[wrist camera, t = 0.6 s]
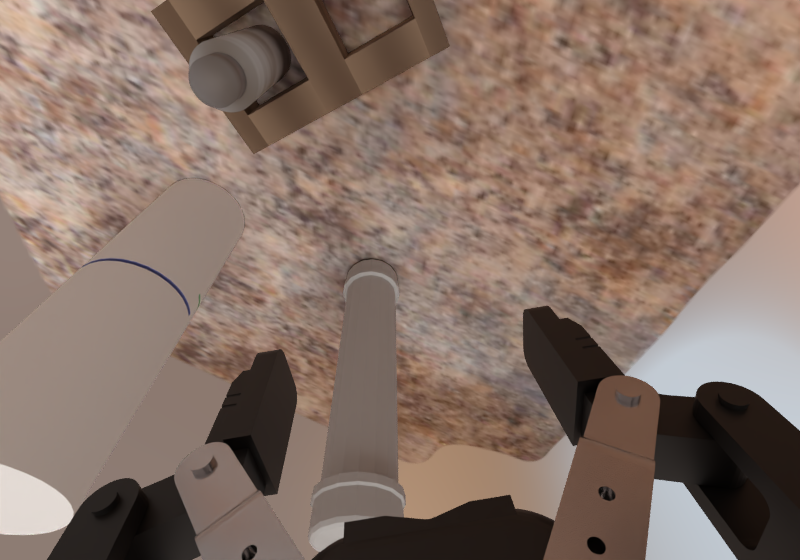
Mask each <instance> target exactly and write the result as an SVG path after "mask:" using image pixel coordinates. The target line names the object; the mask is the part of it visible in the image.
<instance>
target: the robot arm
mask: <svg viewBox="0 0 800 560" xmlns="http://www.w3.org/2000/svg"><path fill="white" fill-rule="evenodd" d="M523 349H524V356H525V359H526V362H527V365H528V367H529V369H530V371H531V372H532V374H533V376H534V378H535V379H536V381H537V383H538V385H539V387H540V388H541V390H542V392H543V394H544V395H545V397H546V399H547V401H548V403H549V404H550V406H551V408H552V410H553V411H554V413H555V415H556V417H557V419H558V420H559V422H560V424H561V426H562V427H563V429H564V431H565V433H566V434H567V436H568V438H569V440H570V442H571V443H572V445H573V446H575V445H577V448H576V452H575V454H574V458H573V461H572V465H571V468H570V471H569V475H568V478H567V482H566V485H565V488H564V491H563V495H562V498H561V502H560V506H559V508H558V512H557V515H556V518H555V521H554V520H552V519H550V518H548V517H545V516H543V515H540V514H538V513H535V512H531V511H527V510H522V509H515V507H514V504H513V501H512V499H511V496H510V495H506V496H500V497H494V498H488V499H483V500H477V501H470V502H468V503H466V504H463V505H461V506H459V507H456V508H454V509H452V510H450V511H448V512H445V513H443V514H441V515H439V516H437V517H434V518H432V519H414V518H404V517H394V516H380V517H374V518H368V519H362V520H356V521H350V522H344V537H343V538H341V539H339V540H337V541H335V542H334V543H332V544H330V545H329V546H327V547H326V548H325V549H323V550H322V551H321V552H319V553H318V554H317V555H316V556H315V557H314V558H313V559H312V560H645V556H646V547H647V538H648V528H649V518H650V510H651V500H652V490H653V482H654V479H659V480H666V481H674V482H682V483H684V485H685V486H686V487H687V489H688V490H689V492H690V493H691V494H692V496H693V497H694V499H695V500H696V502H697V503H698V504H699V506H700V507H701V509H702V510H703V511H704V513H705V514H706V516H707V517H708V519H709V520H710V521H711V523H712V524H713V525H714V527H715V528H716V530H717V531H718V533H719V534H720V535H721V537H722V538H723V540H724V541H725V542H726V544H727V545H728V547H729V548H730V549H731V551H732V552H733V554H734V555H735V556H736V558H737V559H738V560H800V431H799V430H798V429H797V428H796V427H795V426H794V425H792V424H791V423H790V422H789V421H788V420H787V419H786V418H785V417H783V416H782V415H781V414H780V413H779V412H778V411H777V410H775V409H774V408H773V407H772V406H771V405H770V404H769V403H767V402H766V401H765V400H764V399H763V398H761V397H760V396H759V395H758V394H756V393H754V392H753V391H751V390H749V389H746V388H744V387H742V386H739V385H736V384H732V383H726V382H709V383H705V384H703V385H701V386H700V387H699V388H698V390H697V392H696V396H695V397H684V396H671V395H662V394H658V393H657V391H656V390H655V389H654V388H653V387H652V386H650V385H649V384H647V383H646V382H643V381H642V380H639V379H637V378H634V377H630V376H625V375H624V374H623V373H622V372H621V370H620V369H619V368H618V367H617V366H616V365H615V364H614V362H613V361H612V360H611V359H610V358H609V357H608V356H607V354H606V353H605V352H604V351H603V350H602V349H601V348H600V346H599V347H598V344H597V343H596V342H595V341H594V340H593V338H591V337H590V335H589V334H588V333H587V332H586V330H585V329H584V328H583V327H582V326H581V325H579V324H577V323H576V322H574V321H572V320H570V319H568V318H564V319H559V318H558V317H557V315H556V314H555V313H554V312H553V310H552V309H551V308H550V307H549V306H543V307H537V308H531V309H525V310H524V312H523ZM296 404H297V392H296V386H295V383H294V380H293V377H292V374H291V371H290V369H289V366H288V363H287V360H286V357H285V354H284V352H283V351H282V350H281V349H280V350H274V351H268V352H262V353H258V354H257V355H256V357H255V359H254V362H253V364H252V367H251V369H250V370H247V371H243V372H242V373H241V374H240V375H239V376H238V377H237V378H236V379H235V380H234V381H233V382H232V384H231V387H230V389H229V391H228V393H227V398H225V400H224V402H223V404H222V408H221V409H220V411H219V413H218V416H217V418H216V420H215V422H214V425H213V427H212V429H211V431H210V434H209V436H208V438H207V440H206V443H205V445H203V446H201V447H199V448H197V449H196V450H194V451H192V452H191V453H190V454H188V455H187V456H186V457H185V458H184V459H183V460H182V462H181V463H180V464H179V466H178V467H177V469H176V472H175V474H174V475H172V476H170V477H168V478H166V479H163V480H161V481H159V482H156V483H154V484H152V485H149V486H147V487H144V488H142V489H141V487H140V486H139V484H138V483H137V482H136V481H135V480H133V479H130V478H124V479H119V480H116V481H113V482H110V483H108V484H107V485H105V486H103V487H101V488H100V489H98V490H97V491H95V492H94V493H93V494H92V495H91V496H90V497H88V498H87V499H86V500H85V501H84V502H83V504H82V505H81V506H80V507H79V509H78V510H77V512H76V513H75V515H74V517H73V518H72V520H71V521H70V523H69V525H68V526H67V528H66V530H65V531H64V533H63V534H62V536H61V538H60V539H59V541H58V543H57V544H56V546H55V547H54V549H53V551H52V553H51V554H50V556H49V557H48V559H47V560H192V559H194V558H197V557H199V556H202V559H203V560H305V559H304V557H303V556H302V554H301V553H300V551H299V550H298V548H297V547H296V545H295V543H294V542H293V540H292V539H291V537H290V536H289V534H288V533H287V531H286V530H285V528H284V527H283V525H282V523H281V522H280V520H279V519H278V517H277V516H276V514H275V513H274V511H273V509H272V508H271V506H270V505H269V504H268V502H267V500H266V499H265V497H264V496H267V495H273V494H277V493H278V488H279V483H280V479H281V474H282V469H283V465H284V460H285V455H286V451H287V446H288V441H289V437H290V432H291V427H292V422H293V418H294V414H295V409H296Z"/></svg>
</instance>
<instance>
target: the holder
mask: <svg viewBox="0 0 800 560" xmlns="http://www.w3.org/2000/svg"><path fill="white" fill-rule="evenodd" d="M407 1H408V4H409V7H410V9H411V12H412V14H413V16H411V17H410V18H408V19H406V20H405V21H403V22H401V23H399V24H398V25H396V26H394V27H393V28H391V29H389V30H387V31H386V32H384V33H382V34H381V35H379V36H377V37H375V38H374V39H372V40H370V41H369V42H367V43H365V44H363V45H362V46H360V47H358V48H357V49H355V50H353V51H351V52H350V53H348V52H347V50H346V48H345V46H344V44H343V42H342V40H341V38H340V36H339V34H338V32H337V30H336V28H335V26H334V24H333V22H332V20H331V18H330V16H329V14H328V12H327V10H326V8H325V6H324V4H323V2H322V0H166V1H165V2H163V3H162V4H161V5H159V6H158V7H156V8H155V9H154V10H152V11H151V12H152V14H153V15H154V16H155V18H156V19H157V21H158V22H159V23H160V25H161V26H162V27H163V29H164V30H165V32H166V33H167V34H168V36H169V37H170V39H171V40H172V41H173V43H174V44H175V46H176V47H177V48H178V50H179V51H180V52H181V54H182V55H183V57H184V58H185V59H186V61H187V62H188V64H189V83H190V86H191V88H192V90H193V92H194V93H195V95H196V96H197V97H198V98H199V99H200V100H201V101H202V102H203V103H205V104H206V105H208V106H211V107H214V108H216V109H218V110H221V111H223V112H224V114H225V115H226V116H227V118H228V119H229V120H230V122H231V123H232V125H233V126H234V127H235V129H236V130H237V132H238V133H239V134H240V136H241V137H242V139H243V140H244V141H245V143H246V144H247V145H248V147H249V148H250V150H251V151H252V152H253V154H255V153H256V152H258V151H260V150H262V149H264V148H266V147H267V146H269V145H271V144H273V143H275V142H276V141H278V140H280V139H282V138H284V137H286V136H287V135H289V134H291V133H293V132H295V131H297V130H298V129H300V128H302V127H304V126H306V125H307V124H309V123H311V122H313V121H315V120H317V119H318V118H320V117H322V116H324V115H326V114H327V113H329V112H331V111H333V110H335V109H337V108H338V107H340V106H342V105H344V104H346V103H347V102H349V101H351V100H353V99H355V98H357V97H358V96H360V95H362V94H364V93H366V92H368V91H369V90H371V89H373V88H375V87H377V86H378V85H380V84H382V83H384V82H386V81H388V80H389V79H391V78H393V77H395V76H397V75H398V74H400V73H402V72H404V71H406V70H408V69H409V68H411V67H413V66H415V65H417V64H419V63H420V62H422V61H424V60H426V59H428V58H429V57H431V56H433V55H435V54H437V53H439V52H440V51H442V50H444V49H446V48H448V47H449V46H450V45H449V43H448V40H447V37H446V34H445V32H444V29H443V26H442V23H441V21H440V18H439V15H438V12H437V9H436V7H435V4H434V1H433V0H407ZM262 2H265V4H266V6H267V7H268V9H269V11H270V13H271V14H272V16H273V18H274V20H275V21H276V23H277V25H278V27H279V28H280V30H281V32H282V34H283V35H284V37H285V39H286V41H287V42H288V44H289V46H290V48H291V49H292V51H293V53H294V55H295V56H296V58H297V60H298V62H299V63H300V65H301V67H302V69H303V70H304V72H305V74H306V76H307V78H305V79H304V80H302V81H300V82H298V83H297V84H295V85H293V86H292V87H290V88H288V89H286V90H285V91H283V92H281V93H280V94H278V95H276V96H274V97H273V98H271V99H269V100H268V101H266V102H264V103H262V104H261V105H258V103H257V102H256V100H257V99H258V98H259V97H260V96H262V95H263V94H264V93H265V92H266V91H267V90H269V89H270V88H271V87H272V86H273V85H274V84H275V83H277V82H278V81H279V80H280V79H281V78H282V77H284V76H285V74H286V73H287V72H288V70H289V67H290V62H291V55H290V50H289V47H288V45H287V43H286V41H285V39H284V38H283V37H282V35H281V34H280V33H279V32H277V31H276V30H275V29H273V28H271V27H269V26H265V25H256V26H252V27H249V28H246V29H242V30H239V31H236V32H232V33H229V34H226V35H222V36H219V37H216V38H214V37H213V35H214V34H215V33H217V32H218V31H220V30H221V29H223V28H224V27H226V26H227V25H229V24H230V23H232V22H233V21H235V20H236V19H238V18H239V17H241V16H242V15H244V14H246V13H247V12H249V11H250V10H252V9H253V8H255V7H256V6H258V5H259V4H261V3H262Z"/></svg>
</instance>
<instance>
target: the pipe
mask: <svg viewBox="0 0 800 560" xmlns="http://www.w3.org/2000/svg"><path fill="white" fill-rule="evenodd" d="M343 296H344V299H345V302H346V305H345V313H344V320H343V327H342V334H341V341H340V348H339V355H338V363H337V370H336V377H335V384H334V391H333V398H332V405H331V413H330V420H329V427H328V435H327V441H326V449H325V456H324V462H323V470H322V478H321V481H320V482H319V483H318V484H317V485H315V486H314V489H313V493H312V498H311V504H310V505H311V506H312V514H311V520H310V527H309V534H308V539H309V542H310V544H311V545H312V547H313V548H314V549H315V550H317V551H318V552H321V551H322V550H323V549H325V548H326V547H327V546H329V545H330V544H332V543H334V542H335V541H337V540H339V539H341V538H343V537H344V522H350V521H356V520H362V519H368V518H374V517H380V516H394V517H404V514H403V509H404V507H405V505H406V503H405V502H406V501H405V493H404V489H403V487H402V486H401V485H400V484H398V435H397V371H396V308H395V305H396V304H397V301H398V298H399V287H398V280H397V275H396V273H395V271H394V270H393V269H392V267H391V266H390V265H388V264H386V263H385V262H383V261H380V260H375V259H369V260H362V261H361V262H359V263H357V264H355V265H354V266H353V267H352V268H351V269H350V270H349V272H348V275H347V279H346V281H345V285H344V290H343Z"/></svg>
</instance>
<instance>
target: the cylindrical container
mask: <svg viewBox="0 0 800 560" xmlns="http://www.w3.org/2000/svg"><path fill="white" fill-rule="evenodd" d="M244 224H245V221H244V215H243V212H242V209H241V207H240V206H239V204H238V202H237V201H236V200H235V199H234V197H233V196H232V195H231V194H230V193H229V192H227V191H226V190H225V189H223V188H222V187H220V186H219V185H217V184H215V183H212V182H210V181H207V180H203V179H196V178H189V179H183V180H179V181H177V182H175V183H174V184H172V185H171V186H170V187H169V188H168V189H167V190H165V191H164V192H163V193H162V194H161V195H160V196H159V197H158V198H157V199H156V200H154V201H153V202H152V203H151V204H150V205H149V206H148V207H147V208H146V209H145V210H143V211H142V212H141V213H140V214H139V215H138V216H137V217H136V218H135V219H134V220H132V221H131V222H130V223H129V224H128V225H127V226H126V227H125V228H124V229H123V230H122V231H120V232H119V233H118V234H117V235H116V236H115V237H114V238H113V239H112V240H111V241H110V242H109V243H107V244H106V245H105V246H104V247H103V248H102V249H101V250H100V251H99V252H98V253H97V254H95V255H94V256H93V257H92V258H91V259H90V260H89V261H88V262H87V263H86V264H85V265H83V266H82V267H81V268H80V269H79V270H78V271H77V272H76V273H75V274H74V275H73V276H71V277H70V278H69V279H68V280H67V281H66V282H65V283H64V284H63V285H62V286H60V287H59V288H58V289H57V290H56V291H55V292H54V293H53V294H52V295H51V296H49V297H48V298H47V299H46V300H45V301H44V302H43V303H42V304H41V305H40V306H39V307H37V308H36V309H35V310H34V311H33V312H32V313H31V314H30V315H29V316H27V317H26V318H25V319H24V320H23V321H22V322H21V323H20V324H19V325H18V326H17V327H15V328H14V329H13V330H12V331H11V332H10V333H9V334H8V335H7V336H6V337H4V339H2V340H1V341H0V534H7V535H32V534H41V533H48V532H52V531H55V530H59V529H61V528H63V527H64V526H66V525H68V524H69V523H70V521H71V520H72V518H73V517H74V515H75V513H76V512H77V510H78V509H79V507H80V506H81V504H82V502H83V501H84V499H85V497H86V496H87V494H88V492H89V490H90V489H91V487H92V486H93V484H94V482H95V480H96V479H97V477H98V475H99V474H100V472H101V470H102V469H103V467H104V465H105V464H106V462H107V460H108V459H109V457H110V455H111V454H112V452H113V450H114V449H115V447H116V445H117V443H118V442H119V440H120V438H121V437H122V435H123V433H124V432H125V430H126V428H127V427H128V425H129V423H130V422H131V420H132V418H133V417H134V415H135V413H136V412H137V410H138V408H139V407H140V405H141V403H142V402H143V400H144V398H145V396H146V395H147V393H148V391H149V390H150V388H151V386H152V385H153V383H154V381H155V379H156V377H157V376H158V375H159V373H160V371H161V370H162V368H163V366H164V365H165V363H166V361H167V359H168V358H169V356H170V354H171V353H172V351H173V349H174V348H175V346H176V344H177V343H178V341H179V339H180V338H181V336H182V334H183V333H184V331H185V329H186V328H187V326H188V324H189V323H190V321H191V319H192V317H193V316H194V314H195V312H196V311H197V309H198V307H199V306H200V304H201V302H202V301H203V299H204V297H205V296H206V294H207V292H208V291H209V289H210V287H211V286H212V284H213V282H214V280H215V279H216V277H217V275H218V274H219V272H220V270H221V269H222V267H223V265H224V264H225V262H226V260H227V259H228V257H229V255H230V254H231V252H232V250H233V249H234V247H235V245H236V244H237V242H238V240H239V239H240V237H241V235H242V233H243V230H244Z"/></svg>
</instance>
